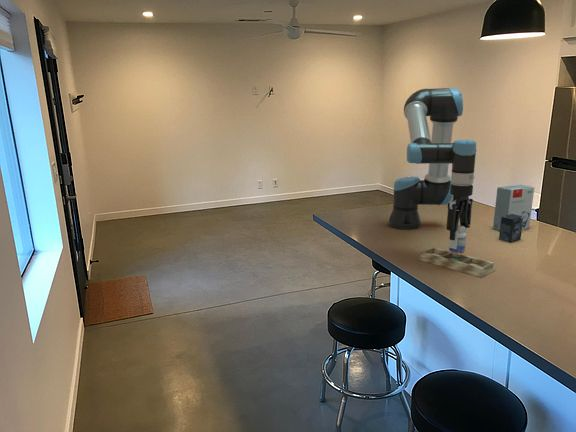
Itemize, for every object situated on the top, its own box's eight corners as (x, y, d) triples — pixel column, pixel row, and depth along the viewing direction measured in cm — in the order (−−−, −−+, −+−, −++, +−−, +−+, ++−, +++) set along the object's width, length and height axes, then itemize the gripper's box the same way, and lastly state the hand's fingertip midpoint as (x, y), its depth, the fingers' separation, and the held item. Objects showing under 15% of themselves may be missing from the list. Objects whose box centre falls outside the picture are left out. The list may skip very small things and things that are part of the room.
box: (510, 243, 198) (513, 218, 196) (498, 239, 203) (500, 216, 200) (521, 239, 203) (523, 216, 200) (509, 236, 207) (511, 213, 205)
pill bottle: (446, 249, 175) (448, 224, 173) (460, 249, 176) (463, 224, 173) (452, 254, 170) (454, 228, 168) (466, 254, 170) (469, 228, 168)
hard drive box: (505, 233, 212) (509, 189, 207) (492, 228, 219) (496, 187, 214) (530, 228, 218) (534, 186, 213) (516, 224, 225) (520, 184, 220)
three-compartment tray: (418, 259, 180) (419, 252, 179) (433, 253, 186) (433, 246, 186) (481, 277, 162) (482, 269, 161) (495, 270, 168) (495, 262, 167)
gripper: (458, 188, 158) (453, 254, 164) (484, 181, 170) (479, 243, 175) (438, 186, 163) (434, 249, 169) (465, 179, 175) (460, 238, 181)
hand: (457, 246), depth 172 cm, fingers closed on pill bottle, 5 cm apart
